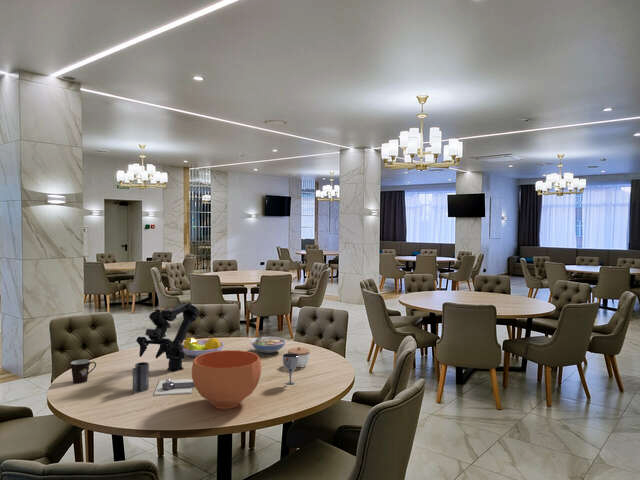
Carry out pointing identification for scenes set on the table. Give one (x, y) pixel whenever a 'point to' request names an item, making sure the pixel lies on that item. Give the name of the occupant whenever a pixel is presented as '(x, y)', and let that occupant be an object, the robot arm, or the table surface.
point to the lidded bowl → (301, 355)
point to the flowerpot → (226, 376)
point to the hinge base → (174, 387)
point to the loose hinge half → (141, 377)
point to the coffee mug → (80, 370)
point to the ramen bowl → (268, 344)
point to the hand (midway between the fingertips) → (147, 357)
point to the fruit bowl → (201, 346)
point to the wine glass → (290, 364)
